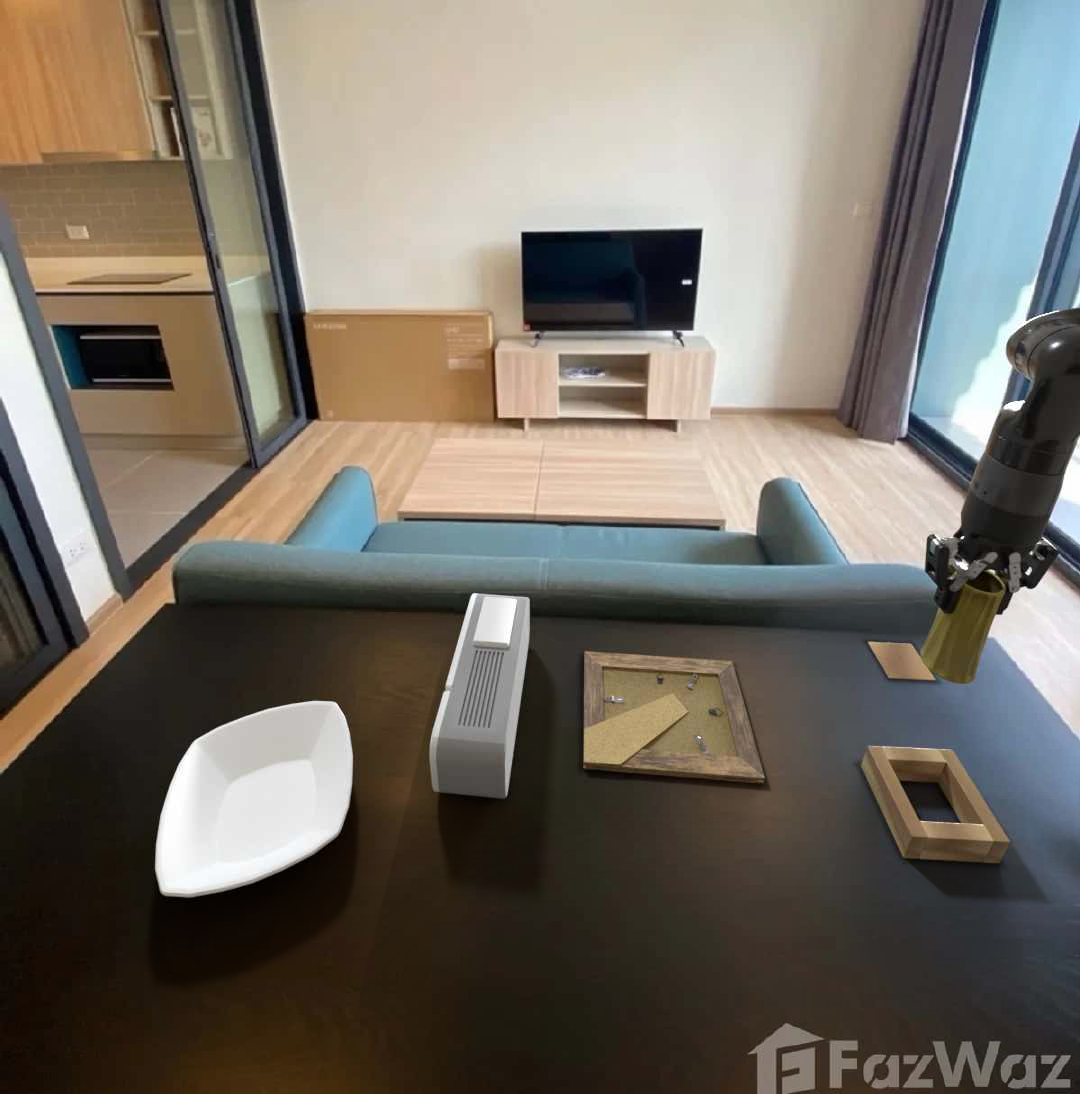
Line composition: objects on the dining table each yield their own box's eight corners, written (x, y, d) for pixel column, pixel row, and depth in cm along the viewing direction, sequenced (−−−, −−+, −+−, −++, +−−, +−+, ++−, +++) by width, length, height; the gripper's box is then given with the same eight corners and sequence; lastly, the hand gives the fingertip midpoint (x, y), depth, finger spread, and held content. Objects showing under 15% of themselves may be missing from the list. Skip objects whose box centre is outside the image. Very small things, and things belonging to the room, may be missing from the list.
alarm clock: (475, 637, 99) (472, 582, 94) (529, 642, 98) (529, 587, 93) (433, 805, 74) (427, 742, 69) (505, 813, 73) (504, 750, 68)
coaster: (910, 646, 98) (911, 643, 97) (935, 682, 91) (936, 679, 91) (866, 644, 98) (867, 641, 98) (888, 680, 91) (889, 677, 91)
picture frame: (583, 770, 78) (763, 785, 76) (583, 761, 77) (765, 776, 76) (584, 657, 95) (731, 667, 93) (584, 649, 94) (732, 659, 93)
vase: (955, 645, 78) (987, 561, 73) (987, 684, 73) (1024, 596, 67) (909, 645, 78) (938, 561, 73) (938, 684, 73) (971, 596, 67)
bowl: (188, 757, 79) (179, 731, 77) (353, 711, 86) (349, 686, 84) (147, 949, 60) (134, 921, 58) (362, 871, 67) (357, 843, 65)
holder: (943, 771, 78) (952, 749, 76) (998, 865, 68) (1010, 841, 66) (859, 767, 79) (867, 745, 77) (902, 859, 68) (912, 836, 67)
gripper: (967, 512, 62) (926, 631, 68) (1106, 514, 61) (1050, 634, 68) (926, 474, 69) (892, 586, 75) (1050, 476, 68) (1005, 588, 75)
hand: (968, 608), depth 72 cm, fingers closed on vase, 5 cm apart
